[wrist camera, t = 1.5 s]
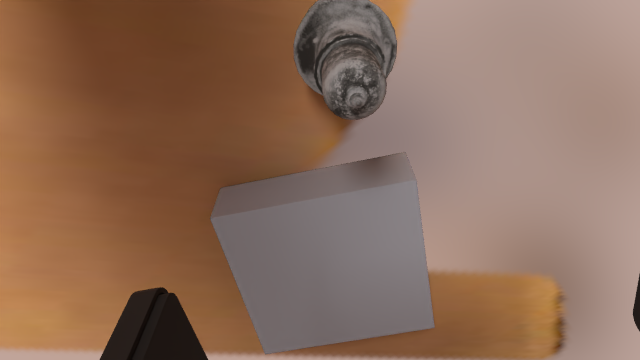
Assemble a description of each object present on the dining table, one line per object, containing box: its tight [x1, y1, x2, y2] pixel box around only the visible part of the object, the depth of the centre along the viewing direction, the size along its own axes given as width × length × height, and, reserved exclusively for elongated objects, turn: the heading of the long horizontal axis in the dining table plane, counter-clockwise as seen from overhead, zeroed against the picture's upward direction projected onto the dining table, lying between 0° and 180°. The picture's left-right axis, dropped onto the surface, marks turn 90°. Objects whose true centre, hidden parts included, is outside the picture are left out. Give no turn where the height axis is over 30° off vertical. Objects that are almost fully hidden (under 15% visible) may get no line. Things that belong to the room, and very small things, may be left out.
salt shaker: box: [294, 0, 397, 120], centre depth 24 cm, size 6×6×12 cm
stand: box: [210, 152, 435, 354], centre depth 35 cm, size 14×14×4 cm
